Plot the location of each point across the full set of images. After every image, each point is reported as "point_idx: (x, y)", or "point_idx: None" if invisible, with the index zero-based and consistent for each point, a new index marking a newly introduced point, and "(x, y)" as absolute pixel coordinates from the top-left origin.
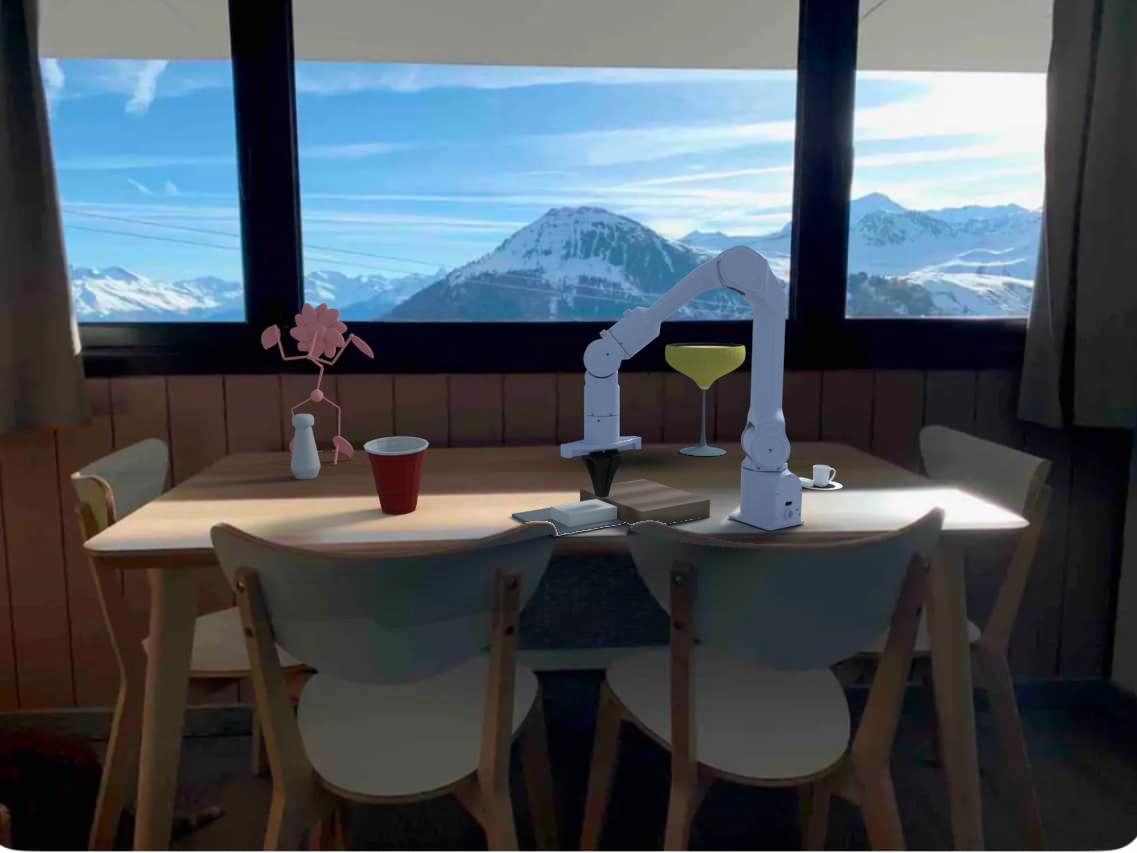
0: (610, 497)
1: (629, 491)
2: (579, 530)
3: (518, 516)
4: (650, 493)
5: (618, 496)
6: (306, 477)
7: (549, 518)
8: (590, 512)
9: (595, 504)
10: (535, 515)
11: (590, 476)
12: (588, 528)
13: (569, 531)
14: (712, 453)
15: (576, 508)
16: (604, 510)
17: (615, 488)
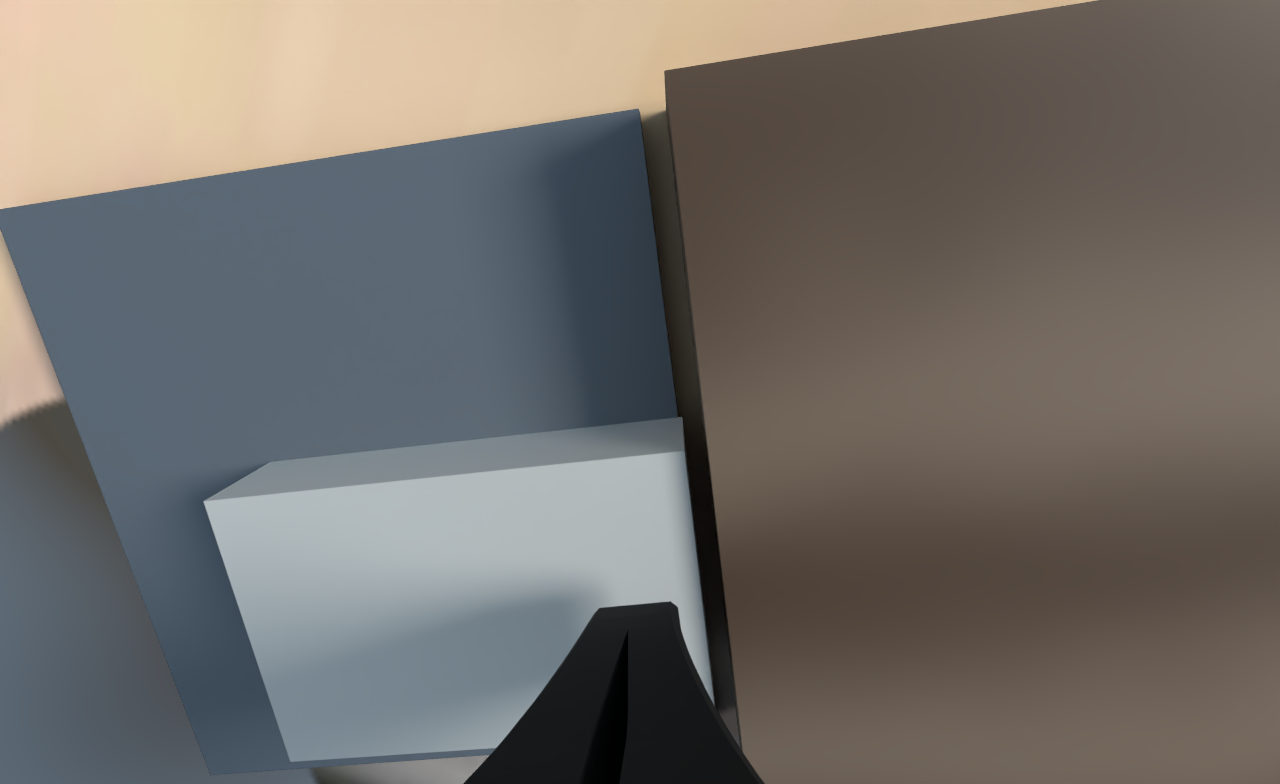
0: (778, 561)
1: (1091, 440)
2: (378, 761)
3: (40, 313)
4: (1215, 598)
5: (866, 563)
6: None
7: (259, 464)
8: (470, 741)
9: (586, 605)
10: (173, 345)
11: (506, 739)
12: (442, 757)
13: (309, 765)
14: None
15: (390, 647)
16: None
17: (1046, 250)
